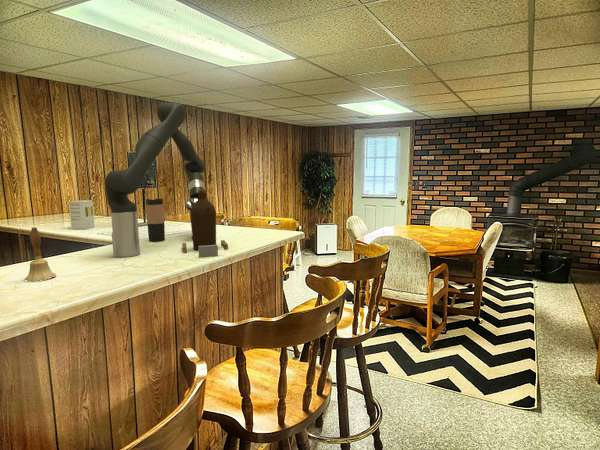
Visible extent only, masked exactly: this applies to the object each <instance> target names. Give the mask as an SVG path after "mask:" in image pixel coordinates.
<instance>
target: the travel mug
mask: <svg viewBox="0 0 600 450" xmlns="http://www.w3.org/2000/svg"><path fill="white" fill-rule="evenodd" d="M145 209H146V221H147V222H146V223H147V224H146V225H147V226H146V227H147V234H148V242H149V243H160V242H164V241H166V233H165V232H166V231H165V230H166V229H165V213H164V200H163V198H154V199H151V198H147V199H145Z"/></svg>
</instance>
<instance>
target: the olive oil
mask: <svg viewBox="0 0 600 450" xmlns="http://www.w3.org/2000/svg"><path fill="white" fill-rule="evenodd" d="M210 202H211V201H210V200H209V199H208V198H207V190H206V188H205V189H200V190H198V200H197V201H196V202H195V203H194V204H193V206H192V205H191V206H192V207H191V210H190V211H189V218H190V226H191V240H192V247H193V250H194V251H198V246H206V245H217V210H216V207H215V205H214V204H213V203H212V204H211V203H210Z"/></svg>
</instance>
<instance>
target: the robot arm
mask: <svg viewBox="0 0 600 450" xmlns="http://www.w3.org/2000/svg"><path fill="white" fill-rule="evenodd" d="M156 113H157V115H156V116H157V117H158V119H159V122H160V123H158V124H157V125H155V126H153V127H151V128H150V129H148V130H147V131H145V132H144V133H143V134H142V135H141V136H140V138H139V139H138V141H137V142H136V145H135V147H134V159H133V160H132V162H131V163H130V165H129V166H128V167H127V168H126V169H124V170H123V169H121V170H119V169H116V170H111V171H109V172H108V173H107V174H106V177H105V180H104V181H105V182H104V184H105V193H106V201H107V204H108V207H109V209H110V217H111V219H110V220H111V228H112V232H111V242H112V252H113V253H112V255H113V257H114V258H127V257H128V258H129V257H135V256H138V255H140V254H141V249H140V246H141V245H140V237H139V235H140V234H139V223H138V222H139V221H138V219H139V218H138V211H137V210H138V209H137V207H138V206H137V204H136V203H135V202H133V201H131V200H130V199H129V196H128V195H132V194H134V193H135V192H137V190H138V189H139V188H140V186H141V184H142V182H143V180H144V179H145V176H146V174H147V172H148V171H149V170H150V168H151V166H152V165H153V163H154V162H155V160H156V159H157V157H158V156H159V155H160V153H161V152H162V150H163V149H164V147H165V145H166V144H167V142H168V141H169V140H170V138H171V139H172V140H173V142H174V144H175V145H176V147H177V149H178V151H179V154H180V156H181V158H182V160H184V162H185V161H186V162H185V163H184V164H183V170H184V173H185V174H186V176H187V178H188V192H189V199H188V202H187V201H186V202H185V205H184V207H185V208H186V209H187V210H188V211H189V212H190V210H191V207H192V206H193V204H194V203H195V202H196V201H197V200H198V190H200V189H206V188H205V183H204V182H205V181H204V177H203V174H202V173H204V172H205V171H206V165H205V162H204V161H203V160H202V158H200V156H199V155H198V154H197V152H196V150H195V147H194V146H193V145H194V144H193V143H192V141H191V140H190V139H189V137H188V136H186V134H184V133H183V132H182V130H180V127H181V125H183V123H184V122H185V119H186V116H187V110H186V108H185V106H184V105H183V104H182V103H177V102H161V103H159V104H158V106H157V108H156ZM209 202H210V203H211V204H212V205H213V202H212V201H209Z"/></svg>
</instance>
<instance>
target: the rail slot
mask: <svg viewBox="0 0 600 450" xmlns="http://www.w3.org/2000/svg"><path fill="white" fill-rule="evenodd" d="M220 245H221V248H223V250H225V251H226V250H229V244H228V243H227V241H226V240H224V239H223V240H220ZM181 247H182V248H181V249H182V253H183V254H186V253H188V248H187V242H181Z"/></svg>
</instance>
